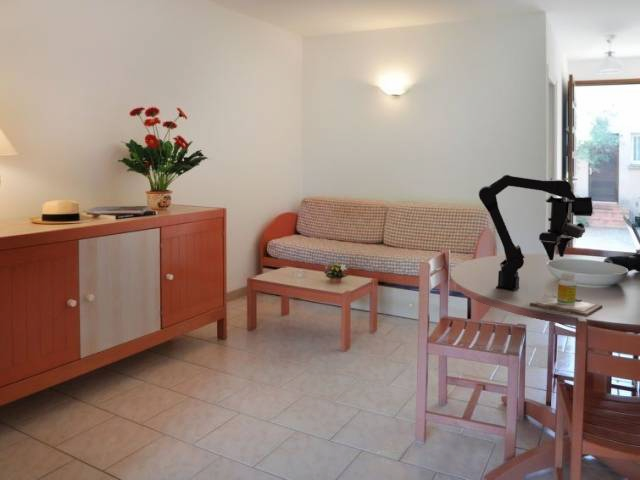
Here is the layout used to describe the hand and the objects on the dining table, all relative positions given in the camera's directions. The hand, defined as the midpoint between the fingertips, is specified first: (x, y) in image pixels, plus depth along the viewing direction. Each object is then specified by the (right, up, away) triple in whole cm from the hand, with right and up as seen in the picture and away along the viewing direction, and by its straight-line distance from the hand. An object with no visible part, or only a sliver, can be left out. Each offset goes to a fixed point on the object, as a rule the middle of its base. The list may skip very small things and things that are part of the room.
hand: (556, 258), depth 202 cm
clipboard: (-5, -15, -18) cm, 24 cm away
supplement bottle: (-5, -14, -19) cm, 24 cm away
